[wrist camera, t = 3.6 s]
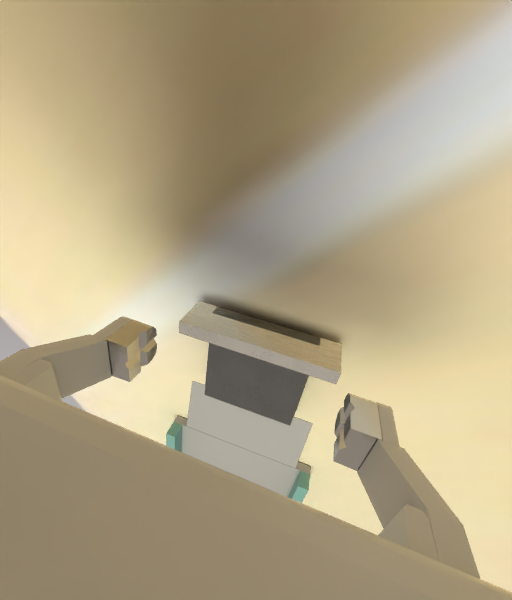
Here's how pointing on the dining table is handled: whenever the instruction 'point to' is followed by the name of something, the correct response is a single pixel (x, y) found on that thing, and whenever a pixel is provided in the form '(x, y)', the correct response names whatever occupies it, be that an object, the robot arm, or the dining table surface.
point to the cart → (259, 360)
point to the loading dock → (243, 443)
